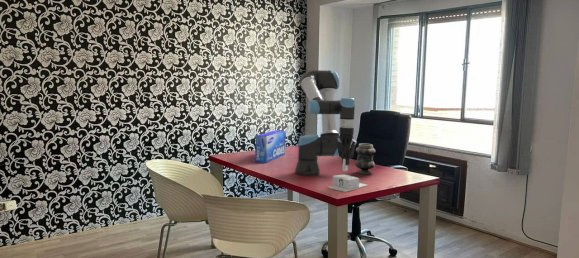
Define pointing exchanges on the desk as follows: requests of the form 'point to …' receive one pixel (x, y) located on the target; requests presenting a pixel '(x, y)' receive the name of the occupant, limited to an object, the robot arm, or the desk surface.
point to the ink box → (346, 181)
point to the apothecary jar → (365, 158)
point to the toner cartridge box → (270, 146)
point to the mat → (346, 188)
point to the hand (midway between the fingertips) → (345, 170)
